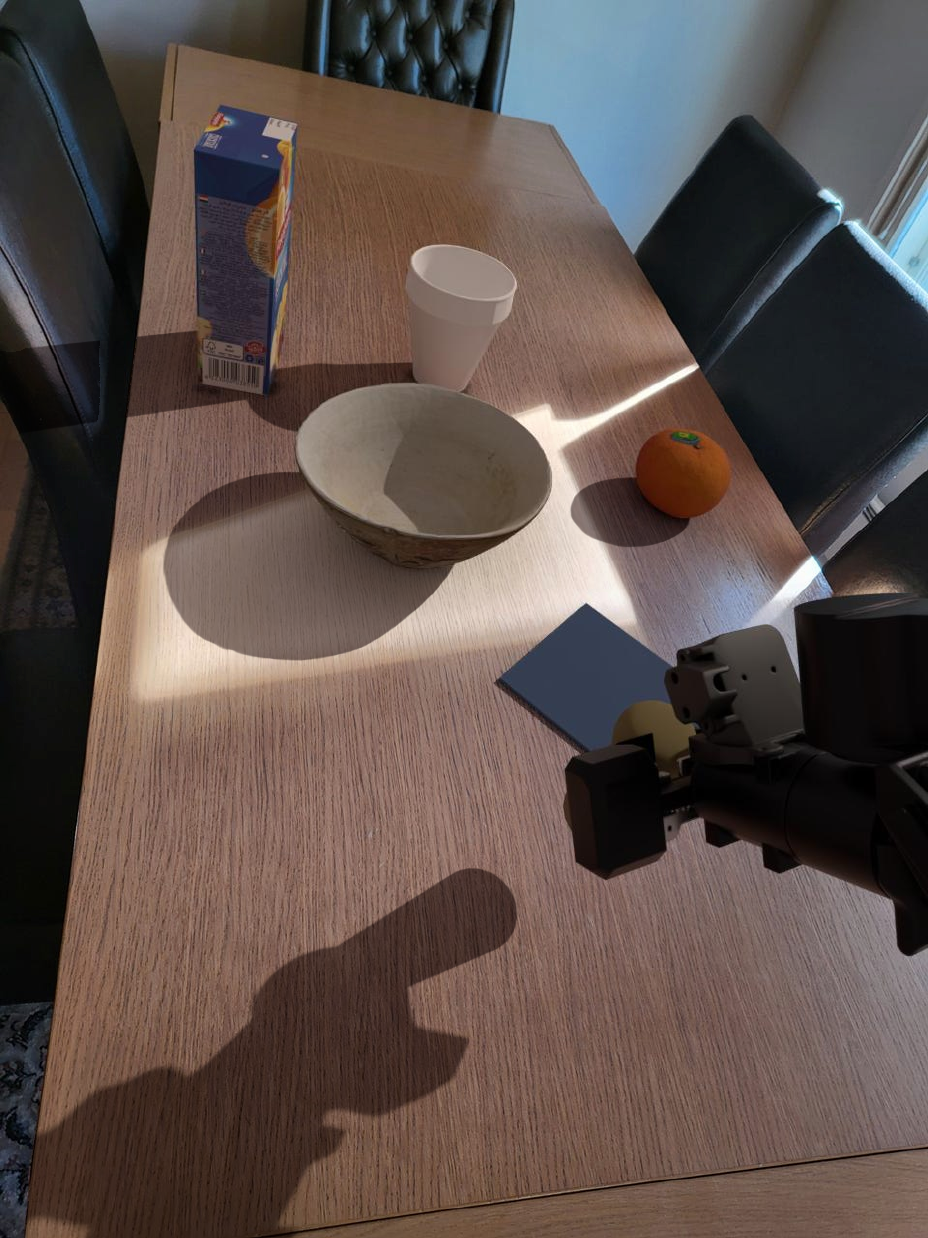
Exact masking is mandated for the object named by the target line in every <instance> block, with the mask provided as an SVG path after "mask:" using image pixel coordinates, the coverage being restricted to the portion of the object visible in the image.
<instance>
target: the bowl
mask: <svg viewBox="0 0 928 1238" xmlns="http://www.w3.org/2000/svg"><path fill="white" fill-rule="evenodd" d="M293 448H294V449H293V451H294V457H295V462H296V466H297V468H298V471H299V474H300V476H301V478H302V479H303V481H304V483H305V485H306V487H307V488H308V490H309V491H310V493H311V494H312V496H313V497H314V498H315V499H316V500H317V502H318V503H319V504H320V505H321V507H322V508H323V509H324V510H325V512H326V513H327V514H328V515H329V516H330V518H332V519H333V520H334V522H335V523H336V524H337V525H338V526H339V528H341V529H342V530H343V531H344V532H345V533H346V534H347V535H348V536H349V537H351V538H352V539H353V540H354V541H356V542H357V543H358V544H360V545H361V546H362V547H363V548H365V549H366V550H368V551H369V552H371V553H372V554H374V555H376V556H377V557H379V558H381V559H382V560H385V561H387V562H389V563H391V564H393V565H396V566H401V567H405V568H410V569H411V568H412V569H434V568H440V567H442V568H443V567H445V566H451V565H455V564H458V563H462V562H465V561H467V560H470V559H472V558H473V559H474V558H475V557H477V556H479V555H481V554H483V553H486V552H488V551H490V550H492V549H494V548H496V547H498V546H499V545H501V544H503V543H504V542H506V541H508V540H509V539H511V538H512V537H513V536H515V535H517V534H518V533H519V532H521V531H522V530H524V529H525V528H526V527H528V525H529V524H531V523H532V521H534V519H535V518H536V517H538V515H539V514H540V513H541V511H543V509H544V507H545V506H546V504H547V502H548V501H549V499H550V495H551V492H552V488H553V471H552V466H551V465H550V461H549V459H548V457H547V454H546V452H545V449H544V448H543V446H542V445H541V443H540V442H539V440H538V439H537V438H536V436H535V435H533V434H532V432H531V431H530V430H528V428H526V427H525V426H524V425H523V424H522V423H520V421H518V420H517V419H516V418H514V416H512V415H511V414H509V413H507V412H506V411H505V410H503V409H502V408H499V407H497V406H495V405H493V404H491V403H489V402H487V401H484V400H483V399H480V398H479V397H478V398H477V397H475V396H472V395H469V394H466V393H463V392H462V391H461V392H458V391H455V390H451V389H447V388H444V387H440V386H435V385H432V384H424V383H418V382H397V383H392V382H391V383H389V382H386V383H380V384H376V385H368V386H365V387H359V388H354V389H351V390H350V391H346V392H345V391H344V392H342V393H340V394H338V395H336V396H333V397H331V398H329V399H327V400H325V401H323V402H322V403H321V404H319V406H318V407H317V408H316V409H314V410H312V411H311V412H310V414H308V415H307V417H306V418H305V420H304V421H303V422H302V424H301V425H300V427H299V428H298V430H297V432H296V437H295V440H294V447H293Z"/></svg>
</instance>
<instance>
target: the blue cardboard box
mask: <svg viewBox="0 0 928 1238" xmlns="http://www.w3.org/2000/svg"><path fill="white" fill-rule="evenodd" d="M297 139H298V122H296V121H295V122H294V121H290V120H288V119H287V120H286V119H282V118H278V117H273V116H270V115H265V114H261V113H257V112H253V111H249V110H244V109H241V108H236V107H232V106H228V105H224V104H219V106H218V108H217V109H216V111H215V112H214V114H213V116H212V118H211V120H210V121H209V123H208V124H207V126H206V128H205V130H204V131H203V133H202V134H201V136H200V137H199V140H198V141H197V143H196V145H195V146H194V148H193V177H194V178H193V179H194V225H195V226H194V227H195V269H196V270H195V271H196V272H195V273H196V319H197V322H196V323H197V361H198V362H197V367H198V369H197V371H198V384H203V385H208V386H213V387H219V388H223V389H228V390H229V389H230V390H234V391H235V390H236V391H241V392H246V393H249V394H250V393H251V394H257V395H260V396H261V395H263V396H267V397H268V396H269V393H270V390H271V386H272V383H273V380H274V376H275V372H276V369H277V365H278V361H279V358H280V354H281V352H282V347H283V344H284V340H285V327H286V326H285V325H286V312H287V311H286V309H287V294H288V279H289V264H290V263H289V262H290V247H291V231H292V217H293V216H292V215H293V202H294V201H293V200H294V187H295V186H294V184H295V170H296V169H295V167H296V156H297V155H296V154H297V153H296V152H297Z"/></svg>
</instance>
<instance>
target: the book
mask: <svg viewBox="0 0 928 1238" xmlns="http://www.w3.org/2000/svg"><path fill="white" fill-rule="evenodd" d="M673 667H674V666H672V665H671V664H670V663H669V662H667V661H666V660H665V659H664V658H662V657H661V656H659V655H658V654H656V652H654V651H653V650H651V649H649V648H648V647H647V646H645V645H644V644H643V643H641V642H640V641H639V640H637V639H636V638H635V637H633V636H632V635H631V634H630V633H628V632H627V631H625V630H624V629H623V628H621V627H620V626H618V625H617V624H616V623H614V622H613V621H612V620H610V618H608V617H606V616H605V615H604V614H602V613H601V612H600V611H598V610H596V609H595V608H594V607H593V606H591V605H590V604H589V603H587V602H585V603H584V604H583V605H582V606H581V607H579V608H578V609H577V610H576V611H575V612H574V613H572V614H571V615H570V616H569V617H568V618H567V619H566V620H564V621H563V622H562V623H561V624H560V625H559V626H558V627H557V628H555V629H554V630H553V631H552V632H550V634H549V635H547V636H546V637H545V638H543V640H541V641H540V642H539V643H538V644H537V645H536V646H535V647H533V648H532V649H531V650H530V651H529V652H528V653H527V654H526V655H524V656H523V657H522V658H521V659H520V660H519V661H518V662H516V663H515V664H514V665H513V666H511V667H510V668H509V669H508V670H507V671H506V672H505V673H503V674H502V675H501V676H500V677H499V679H498V681H499V682H500V683H501V684H502V685H504V686H505V687H506V688H507V689H509V690H510V691H511V692H512V693H513V694H515V695H516V696H518V698H519V699H521V700H522V701H523V702H524V703H526V704H527V705H528V706H529V707H531V708H532V709H533V710H535V711H536V712H537V713H538V714H539V715H541V716H542V717H543V718H544V719H546V720H547V721H548V722H549V723H551V724H552V725H553V726H554V727H556V729H558V730H559V731H560V732H562V733H563V735H565V736H567V738H569V739H570V740H572V741H573V742H574V743H575V744H577V745H578V746H579V747H580V748H582V749H583V750H584V751H585V752H586V753H587V752H591V751H593V749H597V748H604V747H608V746H609V745H610V744H611V743H612V736H613V729H614V725H615V723H616V722H617V720H618V718H619V717H620V715H621V714H622V712H623V711H625V710H626V709H627V708H629V707H630V706H632V705H633V704H635V703H638V702H643V701H647V700H654V701H662V702H665V703H668V704H670V705H671V702H670V699H669V696H668V693H667V690H666V687H665V684H664V677H665V673H666V671H667V670H668V669H670V668H673ZM692 725H693V726H694V727H697V726H698V725H697V724H696V723H692Z"/></svg>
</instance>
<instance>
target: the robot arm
mask: <svg viewBox="0 0 928 1238" xmlns="http://www.w3.org/2000/svg"><path fill="white" fill-rule="evenodd" d="M793 617H794V628H795V638H796V639H795V640H796V641H795V642H796V653H797V664H798V666H797V667H798V674H797V672H796V669H795V666H794V663H793V661H792V658H791V655H790V652H789V650H788V646H787V644H786V641H785V639H784V636H783V635H782V633H781V631H780V630H779V629H777V628H776V627H775V626H773V624H772V625H771V624H766V623H765V624H764V623H763V624H759V625H755V626H751V627H746V628H742V629H738V630H734V631H729V632H725V633H721V634H718V635H716V636H714V637H712V638H709V639H707V640H705V641H702V642H700V643H697V644H695V645H691V646H688V647H683V648H679V649H677V651H676V654H675V658H676V666H672V667H673V668H670V669H668V670H667V671H666V673H665V677H664V684H665V687H666V690H667V693H668V696H669V699H670V702H671V705H672V708H673V711H674V714H675V716H676V718H677V719H678V720H679V721H680V722H681V723H682V724H684V725H687V724H690V723H696V724H697V725H698V726H697V727H694V729H695V732H696V735H693V736H690V737H688V741H689V750H690V755H688V756H685V757H682V758H679V759H678V760H677V762H676V766H677V773H678V775H679V777H676V778H673V779H671V774H670V773H667V772H664V771H660V772H658V771H659V765H658V764H657V763H656V757H655V748H654V739H653V733H649V734H645V735H642V736H638V737H635V738H631V739H628V740H624V741H621V742H618V743H616V744H614V745H611V746H608V747H604V748H597V749H593V751H591V752H587V751H586V752H584V753H580V754H576V755H573V756H571V758H570V759H569V761H568V763H567V764H566V766H565V768H564V769H563V771H564V778H565V785H566V786H565V788H566V792H567V796H568V804H569V812H570V821H571V829H572V831H571V836H572V845H573V851H574V861H575V863H577V864H578V865H579V866H581V867H582V868H583V869H585V870H587V871H588V872H591V873H592V874H594V875H595V876H597V877H599V878H600V879H602V880H604V881H608V880H611V879H614V878H616V877H619V876H622V875H624V874H627V873H630V872H633V871H635V870H639V869H640V868H643V867H646V866H650V865H651V864H654V863H657V862H659V860H660V859H661V858H662V857H663V856H664V854H665V853H666V852H667V851H668V847H667V843H668V842H672V841H673V840H675V839H676V838H677V837H678V835H679V834H680V830H681V827H682V826H683V825H684V824H687V823H689V822H692V821H695V820H697V819H703V827H704V836H705V843H706V844H708V845H710V846H712V847H715V848H718V849H721V848H723V847H726V846H729V845H732V844H734V843H737V842H739V841H744V842H746V843H748V844H751V845H753V846H756V847H759V848H760V849H761V854H762V863H763V864H762V865H763V868H764V869H767V870H769V871H771V872H773V873H776V874H778V875H780V874H781V875H782V874H783V873H785V872H787V871H790V870H793V869H796V868H797V867H801V866H806V867H808V868H811V869H813V870H816V871H818V872H820V873H823V874H826V875H828V876H831V877H833V878H836V879H838V880H841V881H843V882H846V883H848V884H850V885H853V886H855V887H858V888H860V889H863V890H866V891H868V892H870V893H873V894H876V895H878V896H880V897H883V898H885V899H888V900H890V901H892V904H893V909H894V922H895V934H896V936H895V937H896V947H897V949H898V950H899V952H900V953H901V954H902V955H904V956H905V957H913V956H915V955H917V954H919V953H921V952H923V951H925V950H927V949H928V598H924V597H920V593H918V592H875V593H858V594H849V595H840V596H831V597H826V598H825V597H824V598H819V599H814V600H810V601H805V602H801V603H799V604H797V605H795V606H794V607H793Z"/></svg>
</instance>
